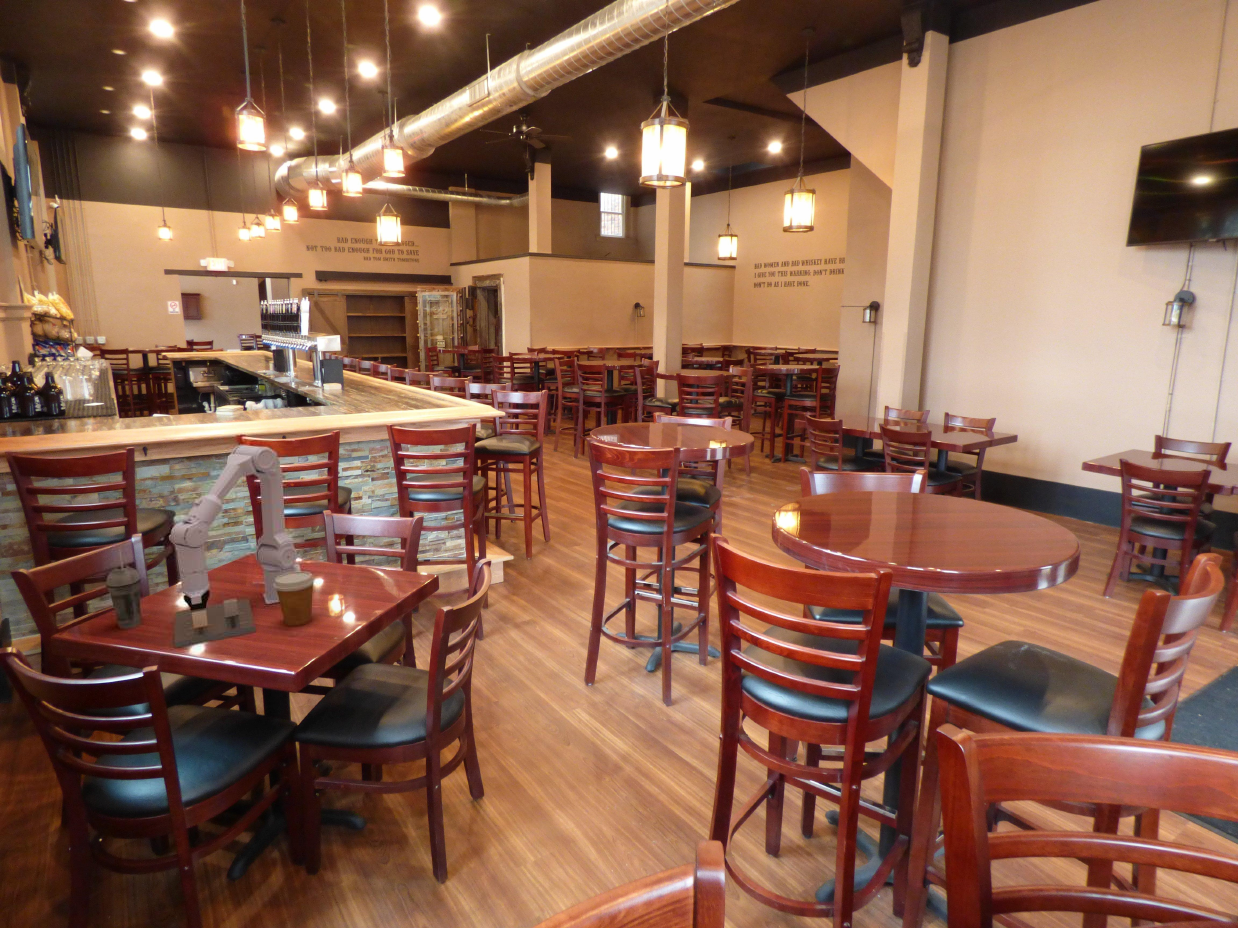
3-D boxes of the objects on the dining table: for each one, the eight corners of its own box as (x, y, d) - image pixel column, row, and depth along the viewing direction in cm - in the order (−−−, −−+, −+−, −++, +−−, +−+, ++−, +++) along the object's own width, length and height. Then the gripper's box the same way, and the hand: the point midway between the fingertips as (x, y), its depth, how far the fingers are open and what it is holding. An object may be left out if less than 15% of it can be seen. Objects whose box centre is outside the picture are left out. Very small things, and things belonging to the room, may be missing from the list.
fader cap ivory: (207, 622, 176) (205, 607, 176) (207, 625, 175) (205, 609, 174) (193, 625, 175) (191, 610, 174) (193, 627, 173) (191, 612, 173)
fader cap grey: (238, 612, 182) (236, 597, 182) (238, 614, 181) (236, 599, 180) (225, 615, 181) (223, 600, 180) (225, 617, 180) (223, 602, 179)
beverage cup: (110, 633, 174) (98, 556, 170) (115, 622, 181) (103, 548, 177) (145, 627, 178) (134, 552, 174) (148, 617, 184) (138, 544, 180)
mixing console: (248, 603, 192) (248, 598, 192) (255, 631, 175) (254, 625, 174) (176, 617, 184) (175, 611, 183) (175, 648, 166) (174, 641, 166)
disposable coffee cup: (326, 616, 184) (322, 572, 182) (298, 631, 175) (294, 585, 173) (297, 611, 187) (293, 568, 185) (269, 625, 178) (264, 581, 176)
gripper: (174, 563, 177) (181, 613, 180) (173, 582, 165) (181, 635, 168) (207, 558, 181) (213, 607, 183) (208, 576, 168) (215, 628, 171)
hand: (200, 620), depth 176 cm, fingers closed, pressing on fader cap ivory
